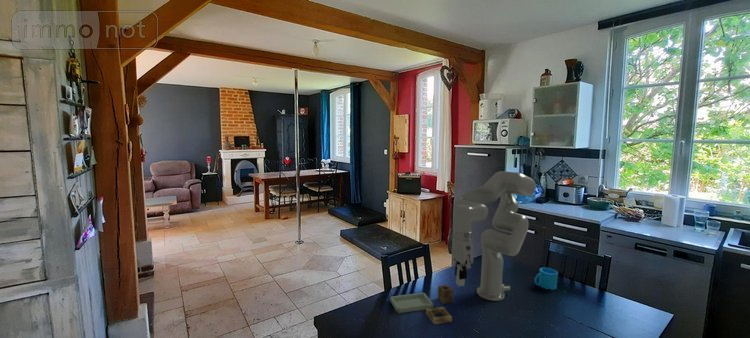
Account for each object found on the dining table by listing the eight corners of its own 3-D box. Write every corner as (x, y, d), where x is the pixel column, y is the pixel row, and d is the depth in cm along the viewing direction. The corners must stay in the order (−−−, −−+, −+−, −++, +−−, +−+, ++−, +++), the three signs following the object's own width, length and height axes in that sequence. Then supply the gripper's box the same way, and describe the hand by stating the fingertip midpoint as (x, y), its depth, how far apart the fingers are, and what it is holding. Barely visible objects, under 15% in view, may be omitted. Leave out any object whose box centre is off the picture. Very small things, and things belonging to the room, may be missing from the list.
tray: (423, 296, 149) (423, 292, 149) (433, 308, 139) (433, 304, 139) (390, 300, 145) (390, 296, 145) (397, 313, 135) (397, 309, 135)
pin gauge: (461, 282, 135) (462, 263, 134) (464, 285, 133) (465, 266, 132) (455, 283, 135) (457, 264, 134) (458, 286, 132) (460, 266, 131)
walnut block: (447, 297, 149) (447, 284, 149) (452, 302, 145) (453, 289, 144) (437, 298, 148) (438, 285, 147) (442, 303, 143) (443, 291, 143)
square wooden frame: (443, 311, 137) (443, 306, 137) (452, 321, 130) (452, 317, 129) (425, 313, 135) (426, 309, 135) (434, 324, 128) (434, 319, 127)
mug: (548, 281, 167) (549, 266, 166) (560, 289, 159) (561, 273, 158) (528, 284, 164) (529, 268, 163) (540, 291, 156) (541, 275, 155)
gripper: (481, 240, 124) (479, 285, 126) (460, 228, 140) (458, 267, 142) (464, 242, 122) (462, 287, 125) (444, 229, 138) (443, 269, 140)
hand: (460, 276), depth 133 cm, fingers closed on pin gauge, 2 cm apart
